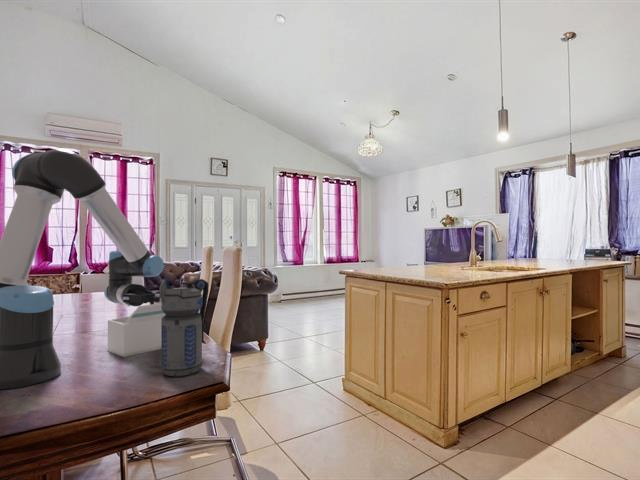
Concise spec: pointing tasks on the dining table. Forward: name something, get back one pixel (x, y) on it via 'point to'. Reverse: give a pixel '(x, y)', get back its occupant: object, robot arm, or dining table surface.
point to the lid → (146, 313)
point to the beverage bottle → (182, 327)
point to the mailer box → (133, 336)
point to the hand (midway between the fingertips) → (167, 299)
